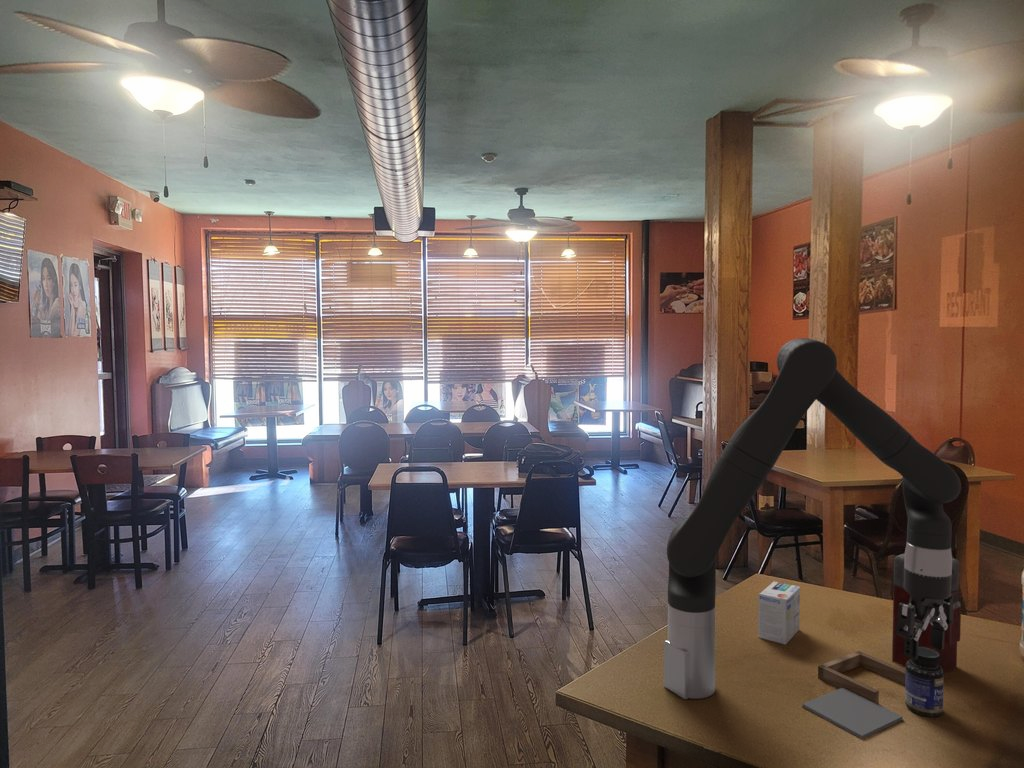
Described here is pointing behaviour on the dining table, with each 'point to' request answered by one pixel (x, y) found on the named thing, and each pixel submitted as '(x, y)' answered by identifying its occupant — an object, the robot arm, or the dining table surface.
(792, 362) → the robot arm
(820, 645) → the dining table surface
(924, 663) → the pill bottle
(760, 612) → the light bulb box
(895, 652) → the red rectangular canister
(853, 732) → the rubber mat
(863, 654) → the frame
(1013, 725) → the dining table surface
